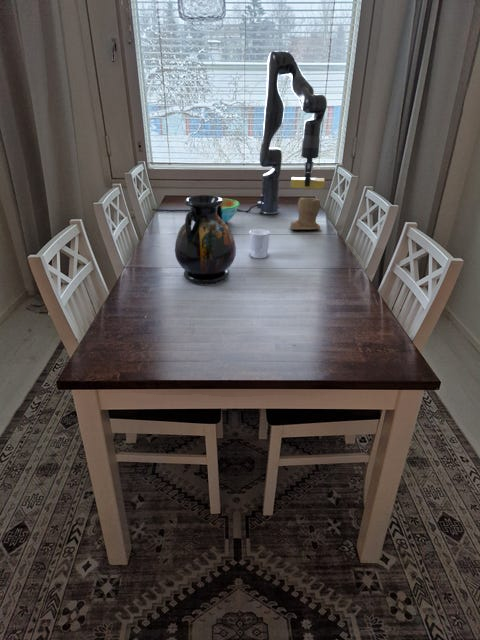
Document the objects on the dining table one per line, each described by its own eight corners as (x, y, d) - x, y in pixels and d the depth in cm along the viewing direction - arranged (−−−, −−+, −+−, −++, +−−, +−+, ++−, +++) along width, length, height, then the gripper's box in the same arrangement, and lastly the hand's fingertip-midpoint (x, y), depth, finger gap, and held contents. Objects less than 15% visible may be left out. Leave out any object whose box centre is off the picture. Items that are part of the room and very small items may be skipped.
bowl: (187, 226, 204) (186, 205, 199) (207, 215, 222) (206, 196, 217) (228, 231, 197) (228, 210, 192) (245, 219, 215) (246, 200, 210)
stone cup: (316, 225, 207) (319, 194, 199) (321, 232, 196) (325, 200, 189) (287, 225, 206) (288, 194, 199) (290, 232, 196) (292, 200, 189)
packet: (290, 187, 189) (291, 179, 187) (291, 184, 194) (291, 176, 192) (323, 188, 186) (324, 180, 185) (323, 186, 192) (324, 178, 190)
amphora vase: (213, 294, 137) (211, 210, 123) (164, 280, 147) (157, 201, 133) (247, 273, 153) (248, 196, 139) (200, 261, 163) (197, 189, 149)
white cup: (270, 253, 171) (271, 230, 166) (265, 260, 164) (266, 235, 159) (252, 251, 173) (253, 228, 168) (246, 257, 167) (247, 233, 162)
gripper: (302, 143, 188) (299, 181, 196) (301, 147, 176) (298, 187, 184) (319, 144, 187) (315, 182, 195) (319, 148, 175) (315, 188, 183)
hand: (307, 184), depth 190 cm, fingers closed on packet, 6 cm apart
